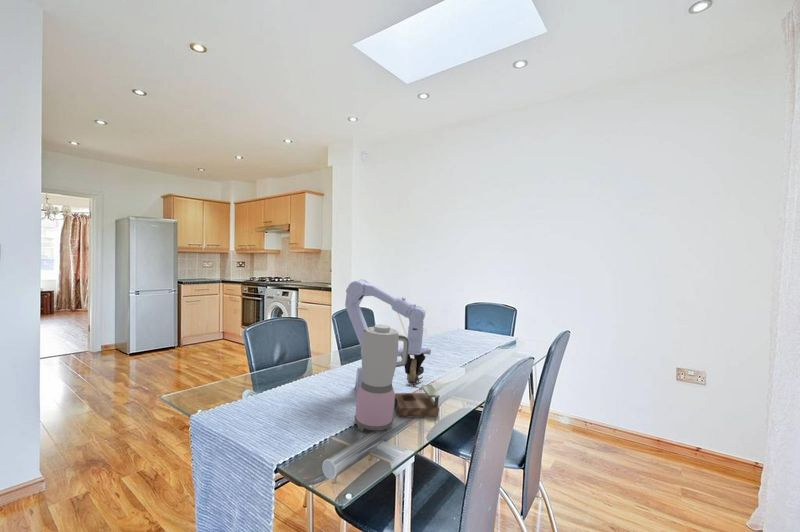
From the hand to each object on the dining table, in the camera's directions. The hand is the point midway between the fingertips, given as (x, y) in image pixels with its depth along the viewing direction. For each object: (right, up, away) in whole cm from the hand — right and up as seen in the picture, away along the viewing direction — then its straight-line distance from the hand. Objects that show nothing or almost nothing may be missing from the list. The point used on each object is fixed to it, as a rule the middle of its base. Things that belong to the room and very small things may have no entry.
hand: (411, 373), depth 136 cm
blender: (-12, -10, -22) cm, 27 cm away
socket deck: (+1, -10, -9) cm, 13 cm away
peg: (0, -3, 0) cm, 3 cm away
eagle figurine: (+2, -9, +16) cm, 19 cm away
